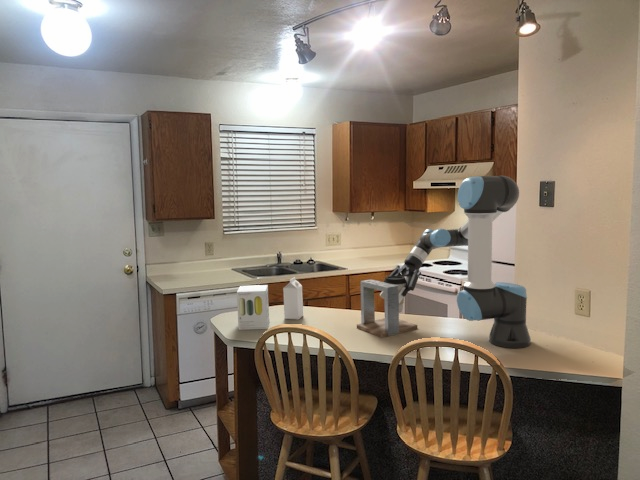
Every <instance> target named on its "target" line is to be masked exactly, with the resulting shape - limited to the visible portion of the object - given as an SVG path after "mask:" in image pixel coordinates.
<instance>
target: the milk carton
mask: <svg viewBox="0 0 640 480" xmlns="http://www.w3.org/2000/svg"><path fill="white" fill-rule="evenodd" d="M282 291H283V312H284V313H283V314H284V315H283V316H284V317H283V318H284V319H285V320H300V319H301V318H303V316H304V302H303V300H304V299H303V285H302V284H301V283H300V282H299V281H298V280H297V279H296V276H294V277H292V278H290V279H289V282H288V284H286V285H285V286H284V287H282Z"/></svg>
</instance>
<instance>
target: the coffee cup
mask: <svg viewBox="0 0 640 480" xmlns="http://www.w3.org/2000/svg"><path fill="white" fill-rule="evenodd" d="M383 282H385V283H389V284H393V285H398V286H399V293H400V291H401V290H402V288H403V287H404V286H405V284H406V277H403V276H389V275H388V276H385V278H384V279H383ZM404 288H405V287H404ZM404 301H405V297H404V298H403V299H402V301H401V302H400V303H399V314H400V313H403V309H404V303H405V302H404Z"/></svg>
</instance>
